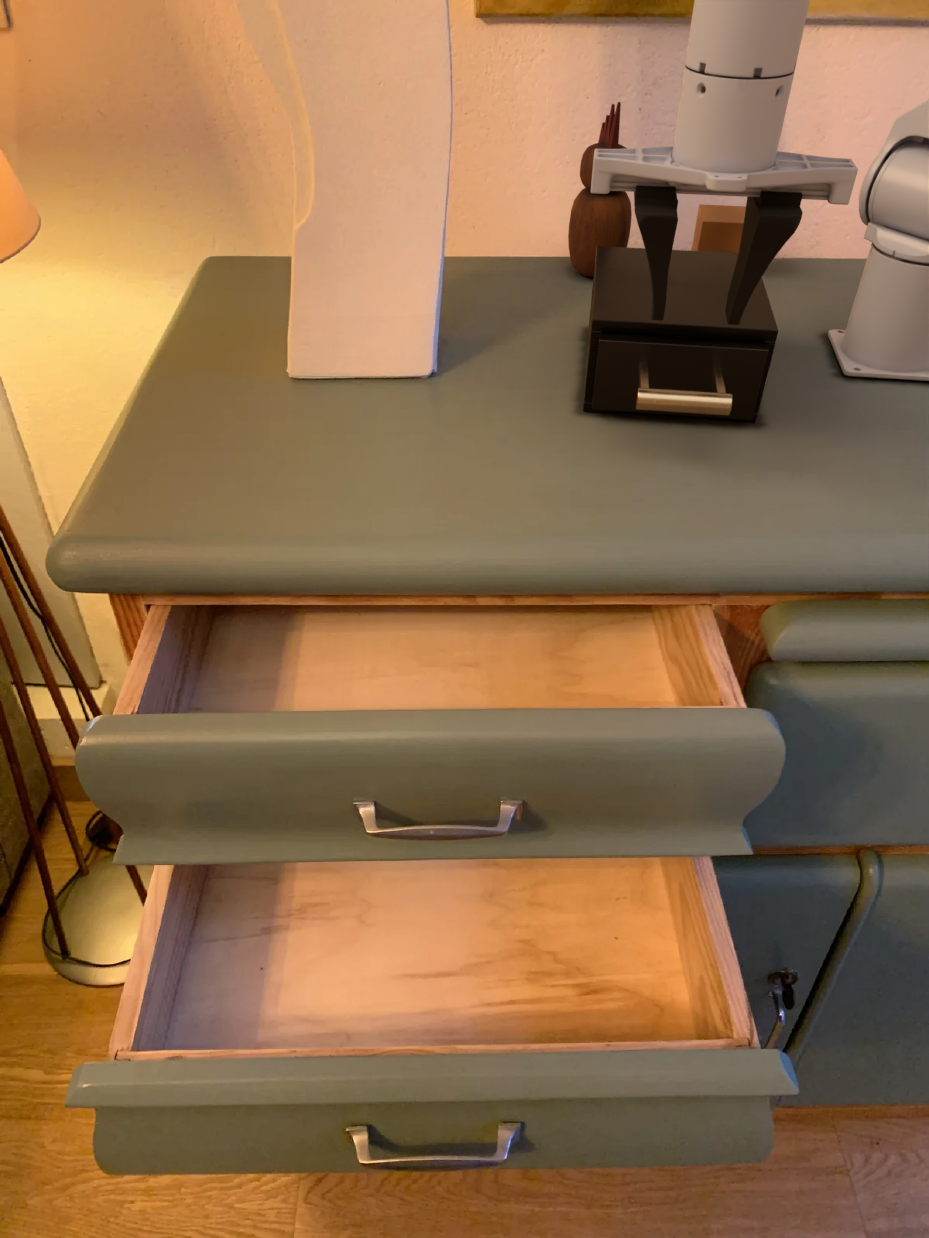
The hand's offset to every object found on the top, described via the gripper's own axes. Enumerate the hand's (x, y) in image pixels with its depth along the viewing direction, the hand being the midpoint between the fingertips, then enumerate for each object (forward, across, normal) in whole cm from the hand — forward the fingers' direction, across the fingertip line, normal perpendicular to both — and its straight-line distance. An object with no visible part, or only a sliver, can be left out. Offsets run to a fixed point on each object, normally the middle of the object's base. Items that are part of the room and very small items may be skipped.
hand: (694, 316), depth 56 cm
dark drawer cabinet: (+9, 0, +11) cm, 15 cm away
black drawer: (+8, 0, +7) cm, 11 cm away
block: (+9, +6, +35) cm, 37 cm away
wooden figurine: (+10, -6, +32) cm, 34 cm away
